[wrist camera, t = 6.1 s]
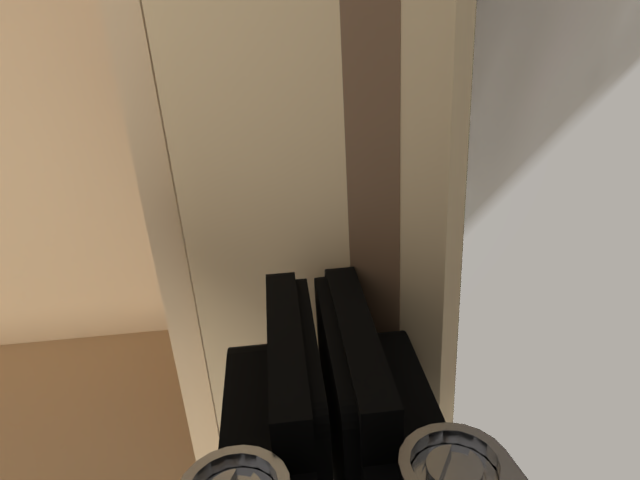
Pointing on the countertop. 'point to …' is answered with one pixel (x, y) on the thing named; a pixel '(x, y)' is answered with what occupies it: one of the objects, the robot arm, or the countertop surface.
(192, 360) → the carton
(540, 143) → the countertop surface
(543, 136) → the countertop surface
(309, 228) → the flap
